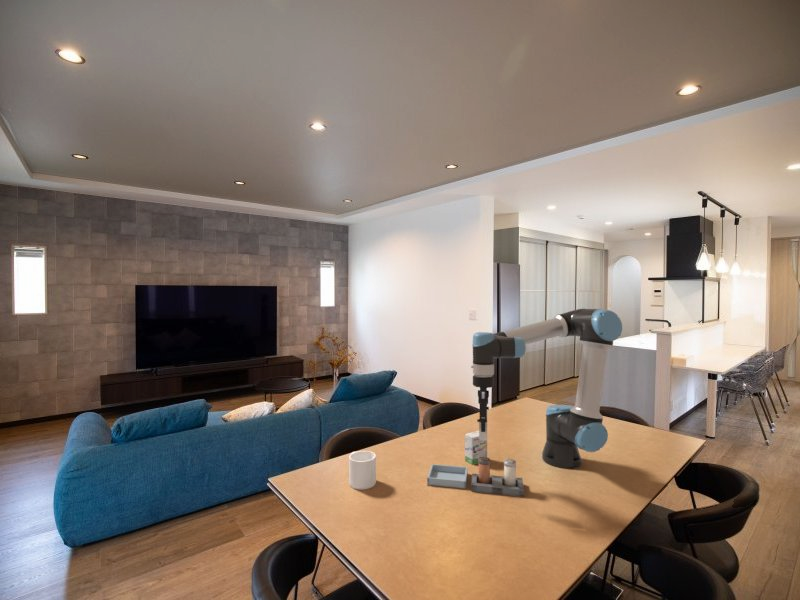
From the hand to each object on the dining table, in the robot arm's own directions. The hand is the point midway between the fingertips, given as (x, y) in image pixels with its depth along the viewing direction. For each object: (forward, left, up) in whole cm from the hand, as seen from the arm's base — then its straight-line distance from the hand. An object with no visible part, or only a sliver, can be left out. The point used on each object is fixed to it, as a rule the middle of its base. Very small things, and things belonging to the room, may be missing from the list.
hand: (483, 433), depth 139 cm
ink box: (+3, -22, -20) cm, 30 cm away
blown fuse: (0, 0, -19) cm, 19 cm away
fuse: (-9, 0, -19) cm, 21 cm away
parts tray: (+13, -3, -20) cm, 24 cm away
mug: (+45, +5, -20) cm, 50 cm away
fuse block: (-5, 0, -20) cm, 20 cm away
